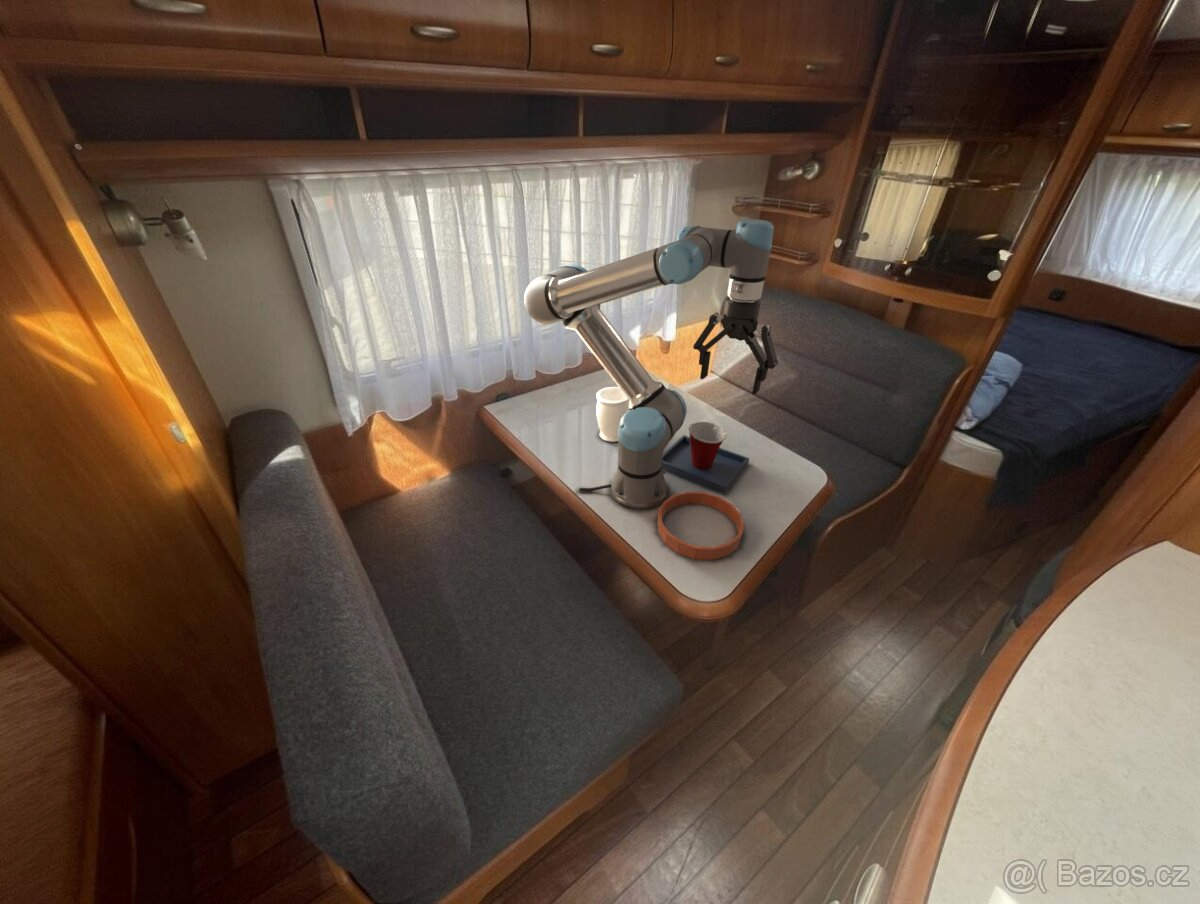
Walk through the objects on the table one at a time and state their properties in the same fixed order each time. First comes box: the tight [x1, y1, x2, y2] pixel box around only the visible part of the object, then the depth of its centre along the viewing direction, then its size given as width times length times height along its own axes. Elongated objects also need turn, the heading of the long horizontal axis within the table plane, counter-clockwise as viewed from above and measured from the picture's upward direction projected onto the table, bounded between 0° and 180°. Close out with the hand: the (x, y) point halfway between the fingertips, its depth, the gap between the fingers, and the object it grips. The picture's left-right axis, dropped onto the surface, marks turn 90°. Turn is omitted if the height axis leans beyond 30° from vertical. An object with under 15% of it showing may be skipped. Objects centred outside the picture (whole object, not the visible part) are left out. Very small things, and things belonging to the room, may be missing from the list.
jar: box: [595, 386, 630, 443], centre depth 151 cm, size 11×10×15 cm
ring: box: [656, 491, 745, 561], centre depth 119 cm, size 21×21×4 cm
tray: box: [662, 434, 750, 495], centre depth 141 cm, size 22×17×3 cm
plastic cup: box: [688, 420, 728, 470], centre depth 138 cm, size 11×11×12 cm
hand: (728, 384), depth 118 cm, fingers open, 13 cm apart
